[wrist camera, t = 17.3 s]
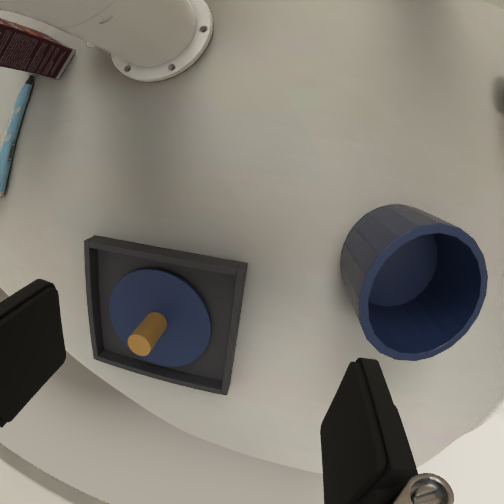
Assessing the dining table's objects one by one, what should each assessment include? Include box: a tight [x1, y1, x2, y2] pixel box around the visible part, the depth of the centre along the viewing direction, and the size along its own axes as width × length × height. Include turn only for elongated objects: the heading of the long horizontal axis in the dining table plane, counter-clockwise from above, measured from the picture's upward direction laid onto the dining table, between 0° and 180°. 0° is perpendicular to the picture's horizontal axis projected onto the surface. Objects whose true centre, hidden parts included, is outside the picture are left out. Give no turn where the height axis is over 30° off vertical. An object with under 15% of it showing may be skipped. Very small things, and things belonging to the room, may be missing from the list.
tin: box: [341, 205, 488, 361], centre depth 28 cm, size 13×13×10 cm
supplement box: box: [0, 18, 75, 80], centre depth 23 cm, size 9×5×16 cm, turn 53°
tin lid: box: [110, 268, 212, 367], centre depth 35 cm, size 14×14×7 cm
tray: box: [84, 236, 248, 395], centre depth 37 cm, size 20×18×2 cm
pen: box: [0, 74, 34, 196], centre depth 33 cm, size 19×3×3 cm, turn 154°
